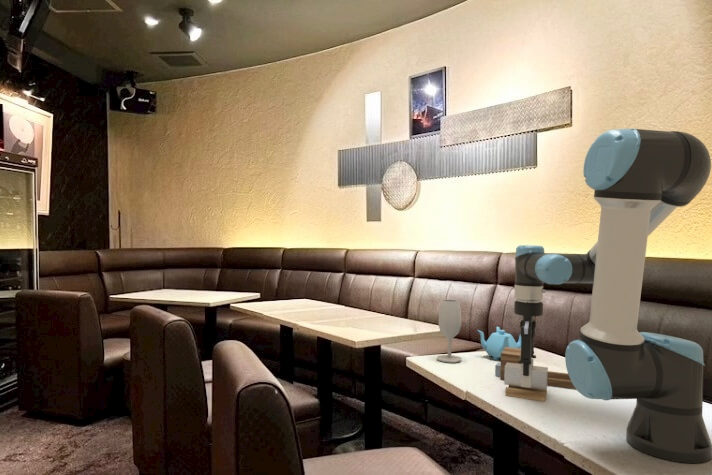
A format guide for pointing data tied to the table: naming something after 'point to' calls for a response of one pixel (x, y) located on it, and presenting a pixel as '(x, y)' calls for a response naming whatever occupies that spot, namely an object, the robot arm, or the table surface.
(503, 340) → the teapot
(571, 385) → the brown wooden forked piece
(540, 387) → the block
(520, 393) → the tan tray
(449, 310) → the wineglass
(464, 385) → the table surface
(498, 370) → the block
